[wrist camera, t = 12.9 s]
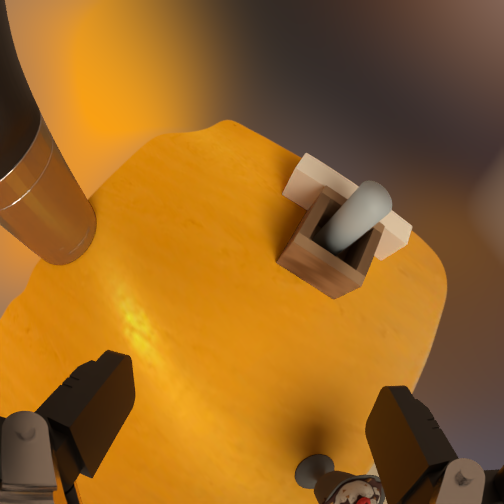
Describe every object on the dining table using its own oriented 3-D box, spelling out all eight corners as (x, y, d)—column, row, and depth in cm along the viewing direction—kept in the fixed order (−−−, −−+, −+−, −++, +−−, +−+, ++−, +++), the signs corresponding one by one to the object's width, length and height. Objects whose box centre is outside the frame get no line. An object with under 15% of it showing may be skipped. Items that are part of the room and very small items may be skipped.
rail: (281, 194, 38) (295, 167, 32) (292, 179, 39) (306, 152, 33) (381, 260, 37) (407, 244, 31) (387, 243, 38) (412, 226, 33)
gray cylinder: (306, 249, 35) (353, 199, 24) (319, 226, 36) (365, 173, 25) (331, 265, 35) (386, 223, 23) (342, 242, 36) (395, 196, 25)
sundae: (300, 442, 27) (369, 490, 14) (348, 453, 28) (428, 490, 14) (277, 488, 25) (328, 556, 11) (326, 496, 25) (392, 551, 11)
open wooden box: (276, 262, 34) (293, 241, 28) (306, 212, 37) (325, 185, 31) (333, 299, 34) (361, 286, 28) (358, 246, 37) (385, 226, 31)
